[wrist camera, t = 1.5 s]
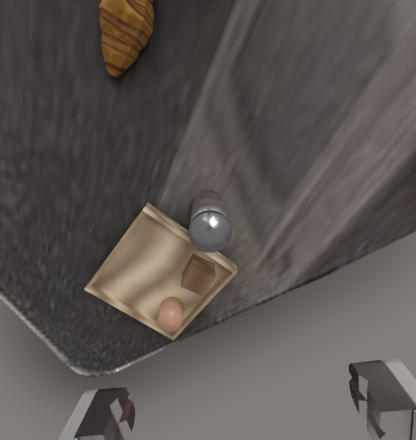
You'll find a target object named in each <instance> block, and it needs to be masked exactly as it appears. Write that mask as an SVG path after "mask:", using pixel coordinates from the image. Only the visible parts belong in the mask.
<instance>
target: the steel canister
mask: <svg viewBox="0 0 416 440" xmlns="http://www.w3.org/2000/svg"><path fill="white" fill-rule="evenodd" d="M188 235H189V239H190V242H191V243H192V245H193V246H194V247H195V248H196V249H198V250H200V251H202V252H206V253H214V252H218V251H220V250H222V249H223V248H225V247H226V246H227V245H228V243H229V242H230V239H231V236H232V230H231V226H230V223H229V221H228V218H227V215H226V211H225V208H224V204H223V201H222V198H221V196H220V195H219V194H218V193H217V192H215V191H212V190H204V191H201V192H199V193H198V194H197V195H196V196H195V198H194V200H193V206H192V214H191V222H190V225H189V231H188Z"/></svg>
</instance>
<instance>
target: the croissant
mask: <svg viewBox="0 0 416 440" xmlns="http://www.w3.org/2000/svg"><path fill="white" fill-rule="evenodd" d="M153 1H154V0H101V2H100V4H99V19H100V27H101V31H102V38H101V46H102V51H103V56H104V61H105V65H106V69H107V72H108V74H110V75H111V76H112V77H115V78H120V77H121V76H122V75H123V73H124V72H125V71H126V70H127V69H128V68H129V67H130V66H131V65H132V64H133V63H134V61H135V60H136V59H137V57H138V54H139V51H140V50H141V49H143V48H144V47H145V46H146V44H147V42H148V40H149V38H150V36H151V34H152V32H153V24H154V11H153V6H152V5H153Z"/></svg>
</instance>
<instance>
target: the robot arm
mask: <svg viewBox="0 0 416 440" xmlns="http://www.w3.org/2000/svg"><path fill="white" fill-rule="evenodd" d="M349 372H350V374H351V376H352V379H351V380H350V381H349V385H350V392H351V396H352V399H353V401H354V404H355V406H356V408H357V410H358V412H359V414H360V415H362V416H363V417H364V418H365V419H366V420H367V430H368V432H369V434H370V436H371V438H372V440H416V379H415V378H414V377H413V376H412V374H411V373H410V372H409V371H408V370H407V368H406V367H405V366H404V365H403V363H402V362H401V361H400V360H398V359H389V360H381V361H380V360H376V361H367V362H360V363H351V364H350V365H349ZM128 395H129V392H128V390H127V388H126V387H123V388H111V389H96V390H87V391H86V392H85V393H84V394H83V395H82V397H81V399H80V401H79V403H78V404H77V406H76V408H75V410H74V412H73V414H72V416H71V418H70V419H69V421H68V423H67V425H66V427H65V429H64V430H63V432H62V435H61V436H60V438H59V439H58V440H126V439H127V437H128V436H129V435H130V434H131V433H132V429H133V426H134V421H135V407H134V404H133V402H132V401H130V400H129V399H128Z"/></svg>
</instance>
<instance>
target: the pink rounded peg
mask: <svg viewBox="0 0 416 440" xmlns="http://www.w3.org/2000/svg"><path fill="white" fill-rule="evenodd" d="M182 315H183V302H182V301H181V300H180V299H179V298H177V297H167V298H165V299H164V300H163V301H162V303H161V306H160V311H159V315H158V319H157V324H158V326H159V328H160V329H162V330H163V331H166V332H173V331H176V330H178V329H179V328H180V327H181V324H182Z"/></svg>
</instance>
